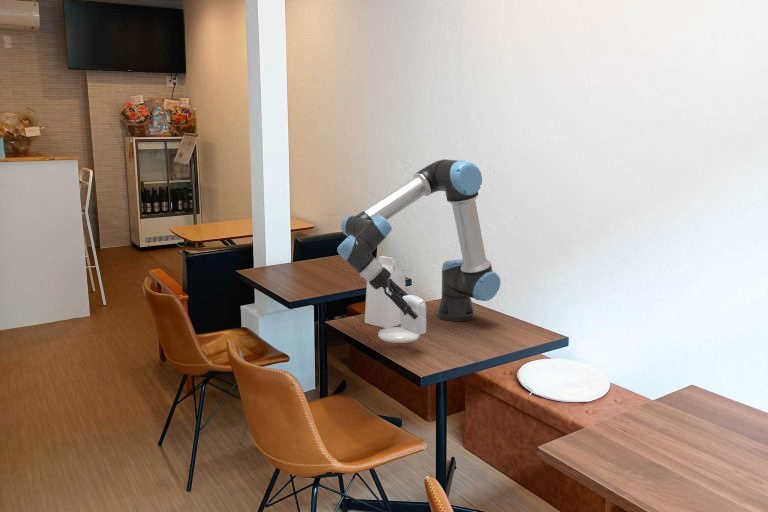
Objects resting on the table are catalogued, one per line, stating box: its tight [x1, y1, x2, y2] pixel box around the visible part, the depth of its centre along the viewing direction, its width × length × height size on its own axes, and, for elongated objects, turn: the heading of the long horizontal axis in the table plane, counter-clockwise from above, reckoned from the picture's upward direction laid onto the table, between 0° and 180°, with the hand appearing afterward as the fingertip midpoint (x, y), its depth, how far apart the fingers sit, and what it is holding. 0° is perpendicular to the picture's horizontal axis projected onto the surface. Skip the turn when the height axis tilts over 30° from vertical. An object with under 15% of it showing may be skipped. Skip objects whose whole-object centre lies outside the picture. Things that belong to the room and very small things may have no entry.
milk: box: [364, 255, 407, 329], centre depth 254 cm, size 12×12×26 cm
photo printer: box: [400, 294, 427, 335], centre depth 223 cm, size 10×4×12 cm, turn 39°
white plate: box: [377, 326, 420, 344], centre depth 239 cm, size 15×15×1 cm
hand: (422, 319), depth 223 cm, fingers closed on photo printer, 9 cm apart
